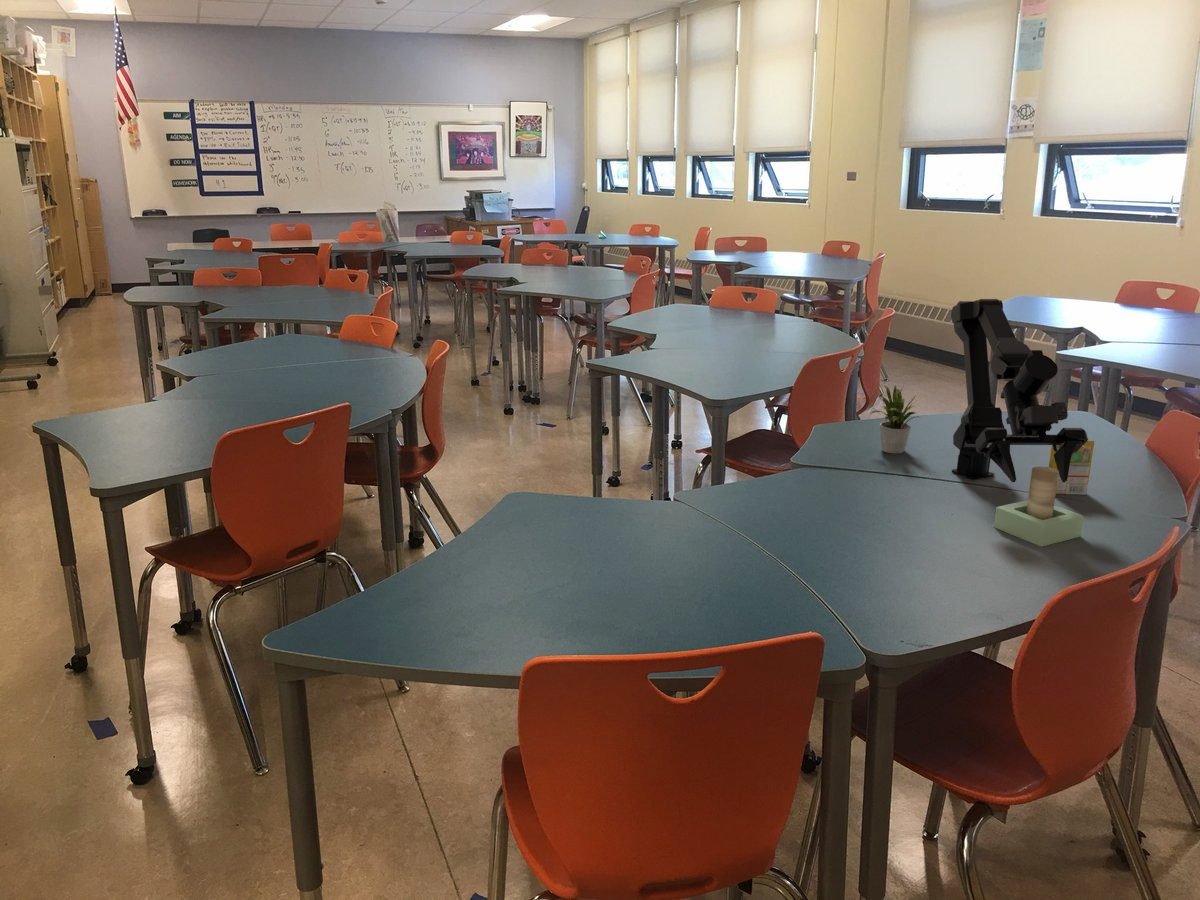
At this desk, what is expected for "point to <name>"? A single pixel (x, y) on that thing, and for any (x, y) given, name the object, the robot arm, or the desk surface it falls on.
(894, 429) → the house plant
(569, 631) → the desk surface
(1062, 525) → the pale green square holder
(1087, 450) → the crayon box
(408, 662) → the desk surface
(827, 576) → the desk surface
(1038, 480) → the beige ridged cylinder
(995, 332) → the robot arm
